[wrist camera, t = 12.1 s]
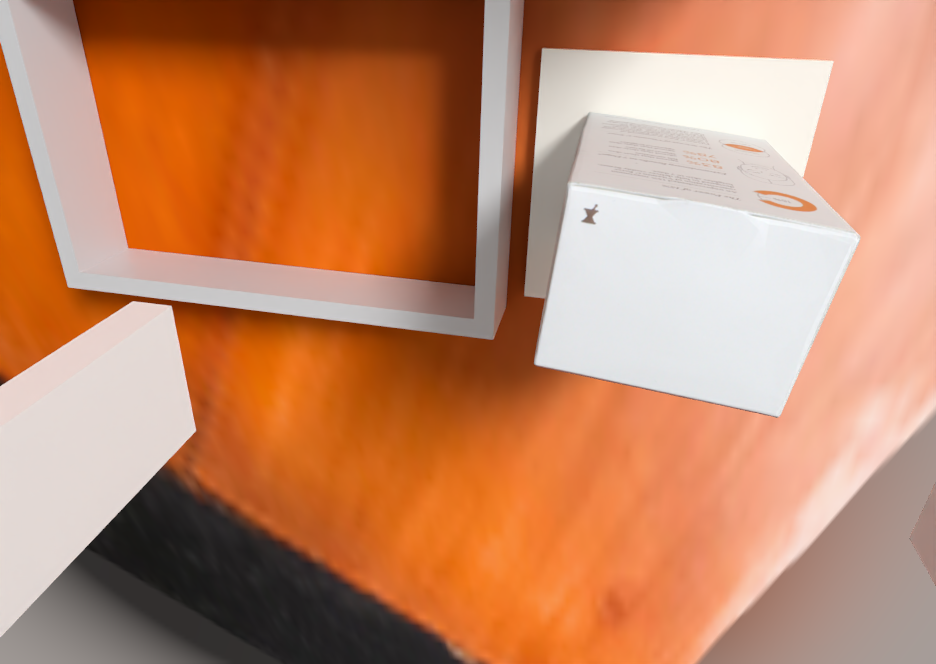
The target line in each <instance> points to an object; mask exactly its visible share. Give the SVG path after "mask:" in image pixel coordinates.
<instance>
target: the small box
mask: <svg viewBox="0 0 936 664" xmlns="http://www.w3.org/2000/svg"><path fill="white" fill-rule="evenodd" d="M859 241H860V235H859V234H858V233H857V232H856V231H855V230H854V229H853V228H852V227H851V226H850V225H849V224H848V223H847V222H846V221H845V220H844V219H843V218H842V217H841V216H840V215H839V214H838V213H837V212H836V211H835V210H834V209H833V208H832V207H831V206H830V205H829V204H828V203H827V202H826V201H825V200H824V199H823V198H822V197H821V196H820V195H819V194H818V193H817V192H816V191H815V190H814V189H813V188H812V187H811V186H810V185H809V184H808V183H807V182H806V181H805V180H804V179H803V178H802V177H801V176H800V175H799V174H798V173H797V172H796V171H795V170H794V169H793V168H792V167H791V166H790V165H789V164H788V163H787V162H786V161H785V160H784V159H783V158H782V157H781V156H780V155H779V153H778V152H777V151H776V150H775V149H774V148H773V147H772V146H771V145H770V144H769V143H768V142H767V141H766V140H762V139H757V138H751V137H746V136H740V135H734V134H729V133H723V132H717V131H711V130H705V129H699V128H693V127H686V126H680V125H674V124H667V123H661V122H655V121H648V120H642V119H636V118H629V117H623V116H616V115H610V114H601V113H595V112H589V113H588V115H587V118H586V121H585V124H584V126H583V129H582V132H581V135H580V139H579V143H578V146H577V150H576V154H575V157H574V161H573V164H572V167H571V171H570V174H569V178H568V181H567V185H566V190H565V196H564V201H563V206H562V211H561V216H560V221H559V226H558V231H557V237H556V242H555V247H554V253H553V258H552V264H551V269H550V274H549V280H548V285H547V290H546V296H545V301H544V307H543V312H542V318H541V323H540V329H539V335H538V340H537V346H536V351H535V359H534V364H535V365H536V366H538V367H542V368H547V369H552V370H557V371H562V372H566V373H571V374H576V375H581V376H585V377H590V378H595V379H599V380H604V381H608V382H613V383H618V384H623V385H628V386H633V387H638V388H642V389H646V390H651V391H655V392H660V393H665V394H670V395H674V396H679V397H683V398H688V399H693V400H699V401H703V402H707V403H712V404H717V405H722V406H727V407H731V408H736V409H740V410H745V411H749V412H754V413H759V414H764V415H768V416H773V417H776V418H777V417H779V416H780V415H781V413H782V411H783V408H784V406H785V404H786V401H787V399H788V397H789V394H790V392H791V390H792V388H793V385H794V383H795V381H796V379H797V377H798V375H799V372H800V370H801V368H802V366H803V364H804V361H805V359H806V357H807V355H808V353H809V350H810V348H811V346H812V344H813V342H814V339H815V337H816V335H817V333H818V331H819V328H820V326H821V324H822V322H823V320H824V317H825V315H826V313H827V311H828V309H829V306H830V304H831V302H832V300H833V298H834V295H835V293H836V291H837V289H838V287H839V285H840V282H841V280H842V278H843V276H844V274H845V271H846V269H847V267H848V265H849V263H850V261H851V258H852V256H853V254H854V252H855V250H856V248H857V246H858V243H859Z"/></svg>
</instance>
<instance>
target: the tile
mask: <svg viewBox="0 0 936 664" xmlns="http://www.w3.org/2000/svg"><path fill="white" fill-rule="evenodd" d="M833 62H834V61H831V60H816V59H793V58H770V57H747V56H724V55H701V54H678V53H655V52H632V51H609V50H586V49H563V48H542V57H541V71H540V85H539V99H538V112H537V126H536V140H535V154H534V167H533V181H532V195H531V209H530V223H529V236H528V250H527V264H526V278H525V292H524V296H527V297H536V298H545V296H546V290H547V285H548V280H549V274H550V269H551V264H552V258H553V253H554V247H555V242H556V237H557V231H558V226H559V221H560V216H561V211H562V206H563V201H564V196H565V190H566V185H567V181H568V178H569V174H570V171H571V167H572V164H573V161H574V157H575V154H576V150H577V146H578V143H579V139H580V135H581V132H582V129H583V126H584V124H585V121H586V118H587V115H588V113H589V112H595V113H601V114H610V115H616V116H623V117H629V118H636V119H642V120H648V121H655V122H661V123H667V124H674V125H680V126H686V127H693V128H699V129H705V130H711V131H717V132H723V133H729V134H734V135H740V136H746V137H751V138H757V139H762V140H766V141H767V142H768V143H769V144H770V145H771V146H772V147H773V148H774V149H775V150H776V151H777V152H778V153H779V155H780V156H781V157H782V158H783V159H784V160H785V161H786V162H787V163H788V164H789V165H790V166H791V167H792V168H793V169H794V170H795V171H796V172H797V173H798V174H799V175H800V176H801V177H802V178H803V176H804V172H805V168H806V164H807V160H808V157H809V153H810V149H811V145H812V141H813V138H814V134H815V130H816V126H817V122H818V119H819V115H820V111H821V107H822V103H823V100H824V96H825V92H826V88H827V84H828V81H829V77H830V73H831V69H832V65H833Z"/></svg>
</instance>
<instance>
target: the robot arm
mask: <svg viewBox="0 0 936 664" xmlns="http://www.w3.org/2000/svg"><path fill="white" fill-rule="evenodd" d="M195 431H196V428H195V423H194V418H193V413H192V408H191V403H190V397H189V392H188V387H187V382H186V377H185V372H184V367H183V362H182V357H181V352H180V346H179V341H178V336H177V331H176V326H175V321H174V316H173V311H172V306H169V305H161V304H152V303H144V302H136V301H133V302H131V303H129V304H128V305H126V306H125V307H123V308H122V309H120V310H119V311H117V312H115V313H114V314H112V315H111V316H109V317H108V318H106V319H104V320H103V321H101V322H100V323H98V324H97V325H95V326H94V327H92V328H90V329H89V330H87V331H86V332H84V333H83V334H81V335H80V336H78V337H76V338H75V339H73V340H72V341H70V342H69V343H67V344H66V345H64V346H62V347H61V348H59V349H58V350H56V351H55V352H53V353H52V354H50V355H48V356H47V357H45V358H44V359H42V360H41V361H39V362H38V363H36V364H34V365H33V366H31V367H30V368H28V369H27V370H25V371H24V372H22V373H20V374H19V375H17V376H16V377H14V378H13V379H11V380H9V381H8V382H6V383H5V384H3V385H2V386H0V637H1V636H2V635H3V634H4V633H5V632H6V631H7V630H8V629H9V628H10V627H11V626H12V625H13V624H14V622H15V621H16V620H17V619H18V618H19V617H20V616H21V615H22V614H23V613H24V612H25V611H26V610H27V609H28V608H29V607H30V605H31V604H32V603H33V602H34V601H35V600H36V599H37V598H38V597H39V596H40V595H41V594H42V593H43V592H44V591H45V590H46V589H47V588H48V587H49V586H50V584H51V583H52V582H53V581H54V580H55V579H56V578H57V577H58V576H59V575H60V574H61V573H62V572H63V571H64V570H65V569H66V568H67V567H68V565H69V564H70V563H71V562H72V561H73V560H74V559H75V558H76V557H77V556H78V555H79V554H80V553H81V552H82V551H83V550H84V549H85V548H86V546H87V545H88V544H89V543H90V542H91V541H92V540H93V539H94V538H95V537H96V536H97V535H98V534H99V533H100V532H101V531H102V530H103V529H104V527H105V526H106V525H107V524H108V523H109V522H110V521H111V520H112V519H113V518H114V517H115V516H116V515H117V514H118V513H119V512H120V511H121V510H122V508H123V507H124V506H125V505H126V504H127V503H128V502H129V501H130V500H131V499H132V498H133V497H134V496H135V495H136V494H137V493H138V492H139V491H140V489H141V488H142V487H143V486H144V485H145V484H146V483H147V482H148V481H149V480H150V479H151V478H152V477H153V476H154V475H155V474H156V473H157V472H158V470H159V469H160V468H161V467H162V466H163V465H164V464H165V463H166V462H167V461H168V460H169V459H170V458H171V457H172V456H173V455H174V454H175V453H176V451H177V450H178V449H179V448H180V447H181V446H182V445H183V444H184V443H185V442H186V441H187V440H188V439H189V438H190V437H191V436H192V435H193V434H194V432H195ZM910 540H911V542H912V544H913V545H914V548H915V549H916V551H917V553H918V555H919V557H920V558H921V560H922V562H923V564H924V566H925V567H926V569H927V571H928V573H929V574H930V576H931V578H932V580H933V582H934V584H935V585H936V483H935V485H934V487H933V489H932V491H931V493H930V495H929V498H928V500H927V502H926V504H925V506H924V508H923V510H922V513H921V515H920V517H919V519H918V521H917V523H916V525H915V527H914V529H913V532H912V534H911V536H910Z"/></svg>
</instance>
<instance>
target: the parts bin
mask: <svg viewBox="0 0 936 664" xmlns="http://www.w3.org/2000/svg"><path fill="white" fill-rule="evenodd" d="M523 15H524V0H485V15H484V44H483V73H482V102H481V131H480V160H479V188H478V217H477V246H476V275H475V286H469V285H460V284H451V283H441V282H432V281H423V280H414V279H405V278H396V277H387V276H378V275H368V274H359V273H350V272H341V271H332V270H323V269H314V268H305V267H295V266H286V265H277V264H268V263H259V262H250V261H241V260H232V259H222V258H213V257H204V256H195V255H186V254H177V253H168V252H159V251H149V250H140V249H131V248H128V245H127V241H126V236H125V232H124V227H123V223H122V218H121V214H120V209H119V205H118V200H117V196H116V191H115V187H114V182H113V178H112V174H111V169H110V165H109V160H108V156H107V151H106V147H105V142H104V138H103V133H102V129H101V124H100V120H99V115H98V111H97V106H96V102H95V98H94V93H93V89H92V84H91V80H90V75H89V71H88V66H87V62H86V57H85V53H84V48H83V44H82V39H81V35H80V30H79V26H78V22H77V17H76V13H75V8H74V4H73V0H0V42H1V46H2V49H3V53H4V57H5V60H6V64H7V67H8V71H9V75H10V78H11V82H12V85H13V89H14V93H15V96H16V100H17V104H18V107H19V111H20V114H21V118H22V122H23V125H24V129H25V133H26V136H27V140H28V143H29V147H30V151H31V154H32V158H33V162H34V165H35V169H36V172H37V176H38V180H39V183H40V187H41V191H42V194H43V198H44V201H45V205H46V209H47V212H48V216H49V219H50V223H51V227H52V230H53V234H54V238H55V241H56V245H57V248H58V252H59V256H60V259H61V263H62V267H63V270H64V274H65V277H66V281H67V285H68V287H70V288H78V289H86V290H94V291H102V292H110V293H119V294H127V295H135V296H143V297H151V298H159V299H167V300H175V301H183V302H191V303H199V304H207V305H216V306H224V307H232V308H240V309H248V310H256V311H264V312H272V313H280V314H288V315H296V316H304V317H313V318H321V319H329V320H337V321H345V322H353V323H361V324H369V325H377V326H385V327H393V328H401V329H410V330H418V331H426V332H434V333H442V334H450V335H458V336H466V337H474V338H482V339H490V340H493V339H494V337H495V334H496V332H497V329H498V326H499V324H500V321H501V319H502V316H503V314H504V311H505V308H506V302H507V285H508V268H509V251H510V234H511V217H512V200H513V184H514V167H515V150H516V133H517V116H518V99H519V82H520V65H521V49H522V32H523Z"/></svg>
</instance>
